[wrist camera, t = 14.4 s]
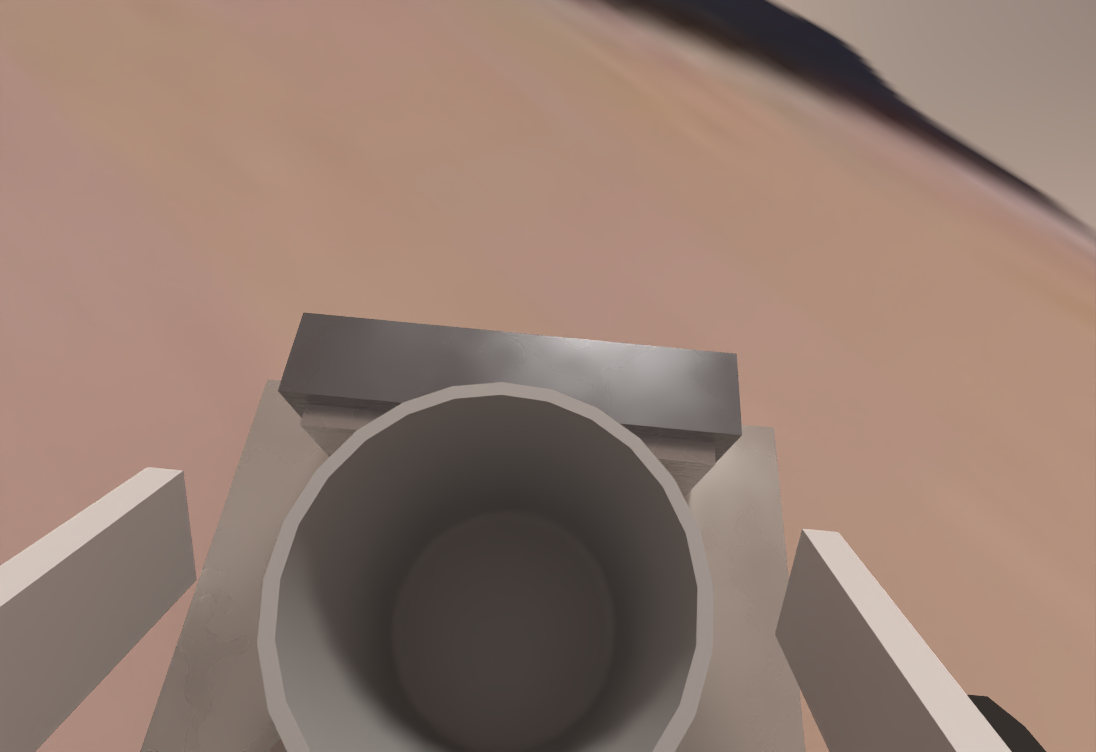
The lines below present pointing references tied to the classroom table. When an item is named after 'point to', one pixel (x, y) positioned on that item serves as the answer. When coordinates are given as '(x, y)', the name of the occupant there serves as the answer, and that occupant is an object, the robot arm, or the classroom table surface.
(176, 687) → the vise
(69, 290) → the classroom table surface
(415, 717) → the cup
